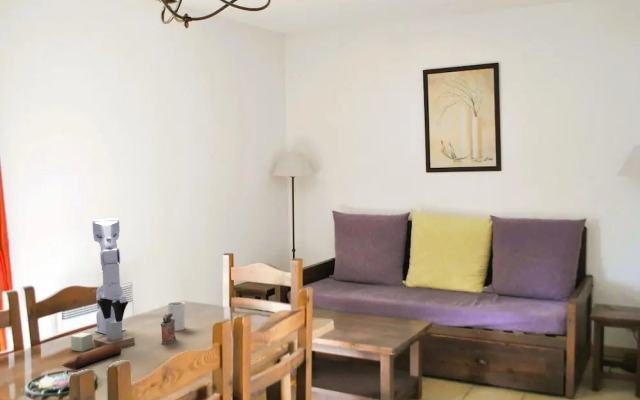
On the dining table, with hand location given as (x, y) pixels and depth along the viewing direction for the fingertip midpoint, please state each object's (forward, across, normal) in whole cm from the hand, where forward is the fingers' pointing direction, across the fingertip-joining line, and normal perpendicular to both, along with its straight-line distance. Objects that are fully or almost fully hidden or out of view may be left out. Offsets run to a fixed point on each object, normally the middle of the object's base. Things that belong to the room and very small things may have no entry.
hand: (113, 319), depth 222 cm
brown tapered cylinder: (+10, +10, -14) cm, 20 cm away
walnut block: (+10, 0, 0) cm, 10 cm away
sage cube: (+9, -6, -9) cm, 14 cm away
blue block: (+7, 0, 0) cm, 7 cm away
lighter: (+9, +13, +14) cm, 21 cm away
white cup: (+10, +1, +27) cm, 29 cm away
